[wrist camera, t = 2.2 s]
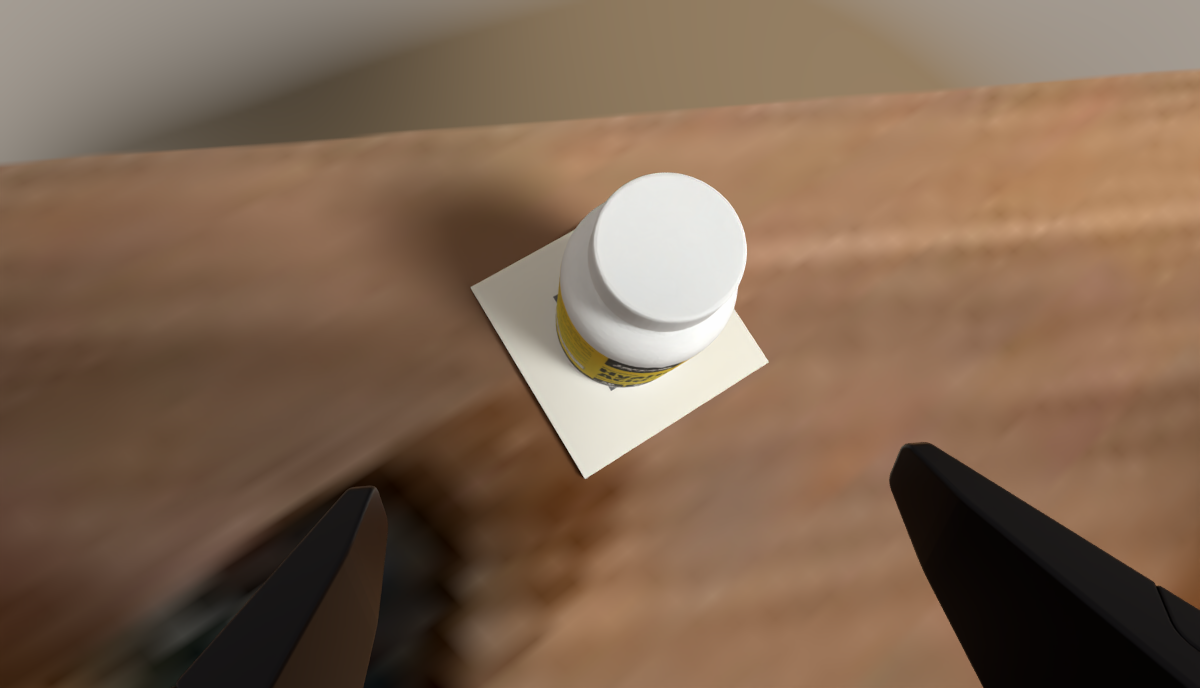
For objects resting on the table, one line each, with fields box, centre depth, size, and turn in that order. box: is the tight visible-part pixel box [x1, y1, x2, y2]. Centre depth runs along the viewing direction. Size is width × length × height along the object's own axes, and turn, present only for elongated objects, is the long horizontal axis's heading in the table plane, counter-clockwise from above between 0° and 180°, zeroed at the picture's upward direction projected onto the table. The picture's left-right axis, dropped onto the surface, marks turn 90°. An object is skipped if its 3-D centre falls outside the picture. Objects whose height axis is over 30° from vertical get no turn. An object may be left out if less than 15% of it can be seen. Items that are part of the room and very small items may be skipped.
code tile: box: [470, 230, 768, 479], centre depth 25 cm, size 9×9×1 cm
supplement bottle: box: [556, 173, 747, 388], centre depth 20 cm, size 5×5×10 cm
